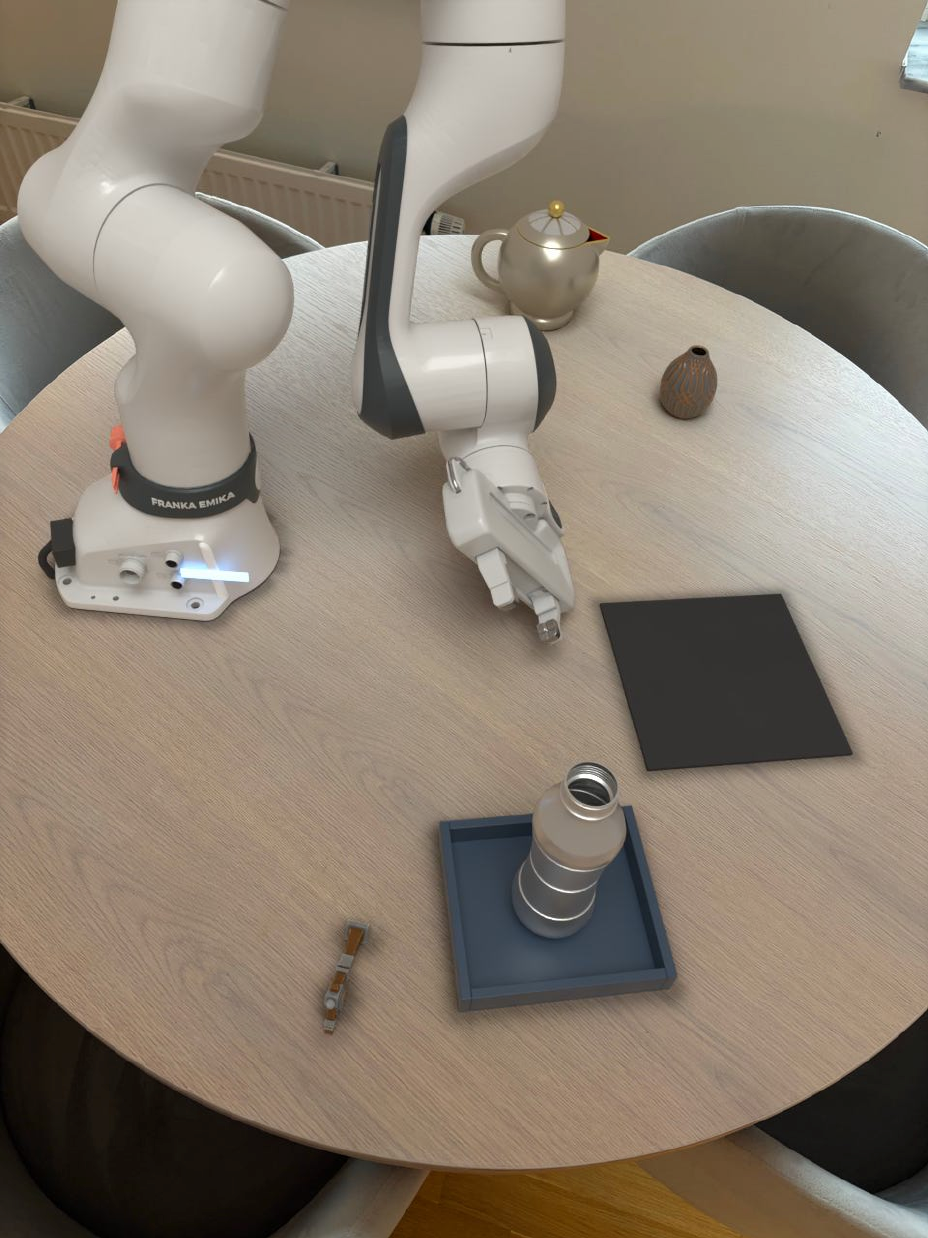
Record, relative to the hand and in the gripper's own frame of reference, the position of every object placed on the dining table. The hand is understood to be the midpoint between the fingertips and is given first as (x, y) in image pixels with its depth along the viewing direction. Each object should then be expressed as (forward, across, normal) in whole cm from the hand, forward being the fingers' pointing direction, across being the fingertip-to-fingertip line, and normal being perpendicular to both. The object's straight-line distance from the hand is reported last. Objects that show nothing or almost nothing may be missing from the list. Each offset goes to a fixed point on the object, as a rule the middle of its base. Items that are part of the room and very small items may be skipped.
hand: (530, 624), depth 85 cm
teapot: (-60, +27, -2) cm, 65 cm away
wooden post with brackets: (+26, -8, +19) cm, 33 cm away
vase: (-37, +32, -16) cm, 51 cm away
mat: (+4, +19, -11) cm, 22 cm away
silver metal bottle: (+24, +2, +5) cm, 24 cm away
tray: (+24, +2, +5) cm, 24 cm away
